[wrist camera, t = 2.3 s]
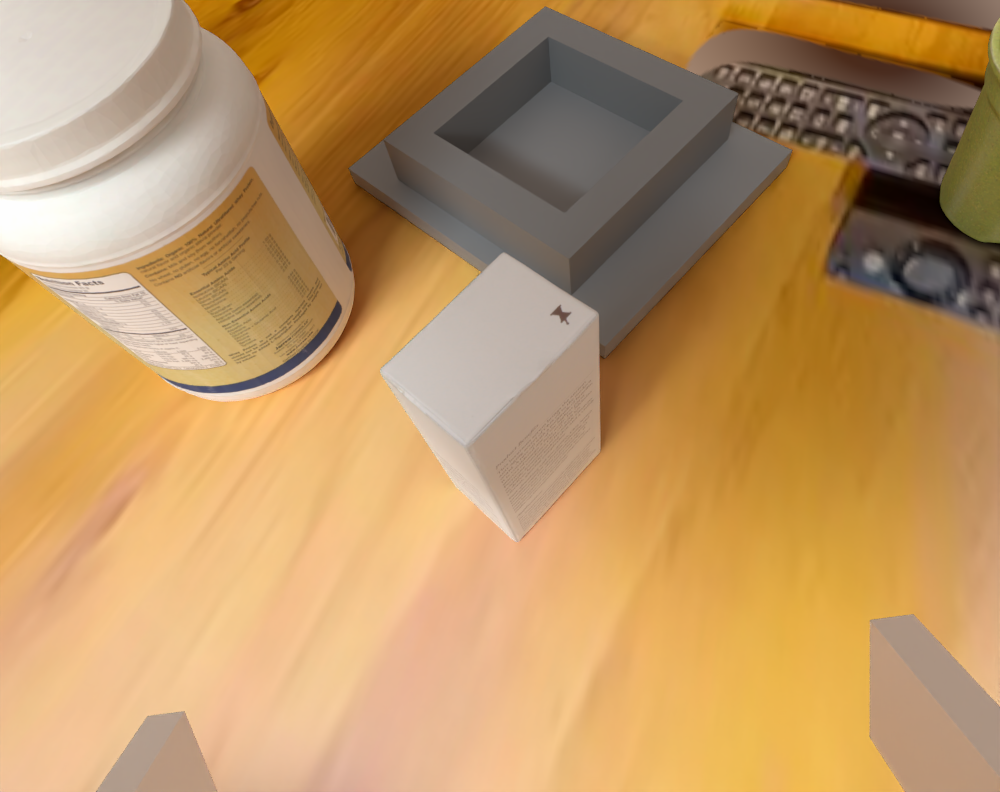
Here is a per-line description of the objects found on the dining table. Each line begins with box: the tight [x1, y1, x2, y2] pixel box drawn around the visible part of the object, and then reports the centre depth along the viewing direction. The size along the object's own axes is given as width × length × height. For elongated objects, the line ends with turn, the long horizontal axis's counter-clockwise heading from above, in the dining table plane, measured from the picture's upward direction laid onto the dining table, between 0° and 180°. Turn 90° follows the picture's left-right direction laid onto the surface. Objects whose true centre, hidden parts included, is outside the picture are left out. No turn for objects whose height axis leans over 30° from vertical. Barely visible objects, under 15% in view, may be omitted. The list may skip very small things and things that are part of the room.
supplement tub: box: [0, 0, 355, 402], centre depth 29 cm, size 12×12×17 cm
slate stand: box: [348, 7, 792, 358], centre depth 37 cm, size 20×16×4 cm
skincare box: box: [380, 252, 601, 542], centre depth 25 cm, size 6×4×12 cm
